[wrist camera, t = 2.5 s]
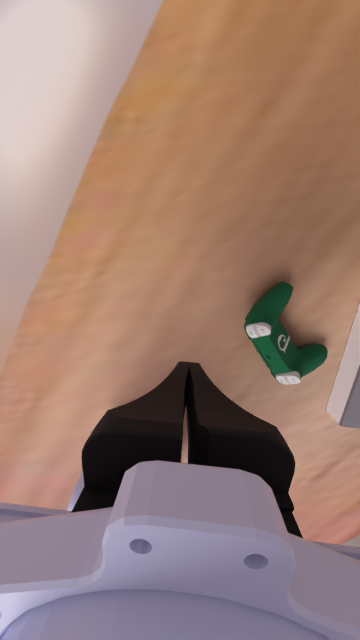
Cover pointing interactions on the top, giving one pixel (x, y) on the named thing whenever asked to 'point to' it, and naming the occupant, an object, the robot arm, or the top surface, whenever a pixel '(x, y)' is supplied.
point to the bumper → (348, 382)
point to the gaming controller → (280, 339)
